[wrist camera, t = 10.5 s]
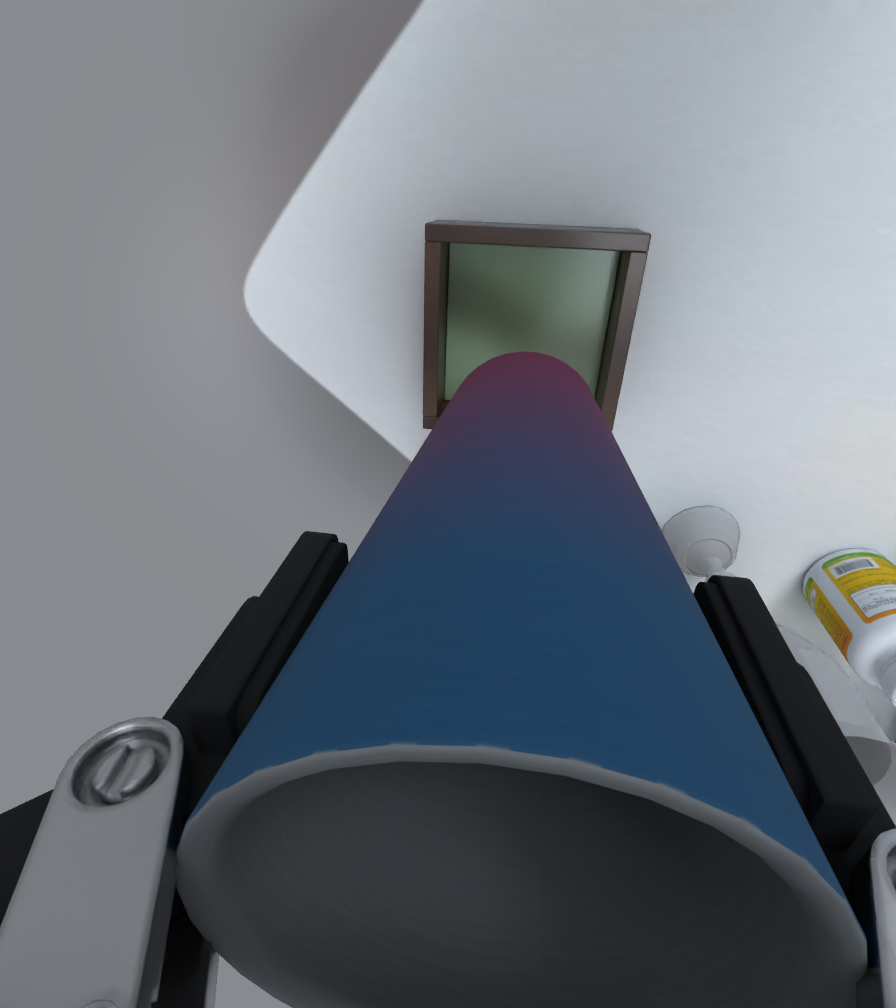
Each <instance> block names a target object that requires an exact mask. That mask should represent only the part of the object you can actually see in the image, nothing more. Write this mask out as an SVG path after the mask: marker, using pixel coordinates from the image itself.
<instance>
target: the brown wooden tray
mask: <svg viewBox="0 0 896 1008" xmlns="http://www.w3.org/2000/svg"><path fill="white" fill-rule="evenodd" d="M650 239H651V234H650V233H647V232H645V231H642V230H639V229H627V228H605V227H583V226H561V225H539V224H517V223H495V222H473V221H451V220H436V221H432V222H429V223H426V224H425V241H426V242H425V280H424V370H423V428H424V429H433V427H434V426H435V424H436V423H437V421H438V419H439V418H440V416H441V415H442V413H443V412H444V410H445V408H446V407H447V405H448V404H449V402H450V400H451V399H452V397H453V396H454V394H455V392H456V391H457V389H458V388H459V386H460V385H461V384H462V382H463V381H464V380H465V378H466V377H467V376H468V375H469V374H470V373H471V372H472V371H473V370H475V369H476V368H477V367H478V366H479V365H481V364H483V363H484V362H486V361H488V360H490V359H492V358H494V357H497V356H500V355H503V354H506V353H513V352H521V351H525V352H538V353H542V354H545V355H549V356H553V357H555V358H557V359H559V360H561V361H563V362H565V363H567V364H568V365H569V366H570V367H571V368H573V369H574V370H575V371H576V372H578V373H579V374H580V376H581V377H582V378H583V379H584V381H585V382H586V383H587V384H588V386H589V388H590V390H591V392H592V394H593V396H594V398H595V400H596V402H597V404H598V406H599V408H600V410H601V412H602V414H603V416H604V418H605V420H606V422H607V424H608V426H609V428H610V430H611V431H612V429H613V424H614V419H615V414H616V409H617V404H618V399H619V394H620V389H621V384H622V379H623V374H624V369H625V364H626V359H627V354H628V349H629V344H630V339H631V334H632V329H633V324H634V319H635V314H636V309H637V304H638V299H639V294H640V289H641V284H642V279H643V275H644V270H645V265H646V260H647V255H648V253H647V252H648V249H649V244H650Z"/></svg>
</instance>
